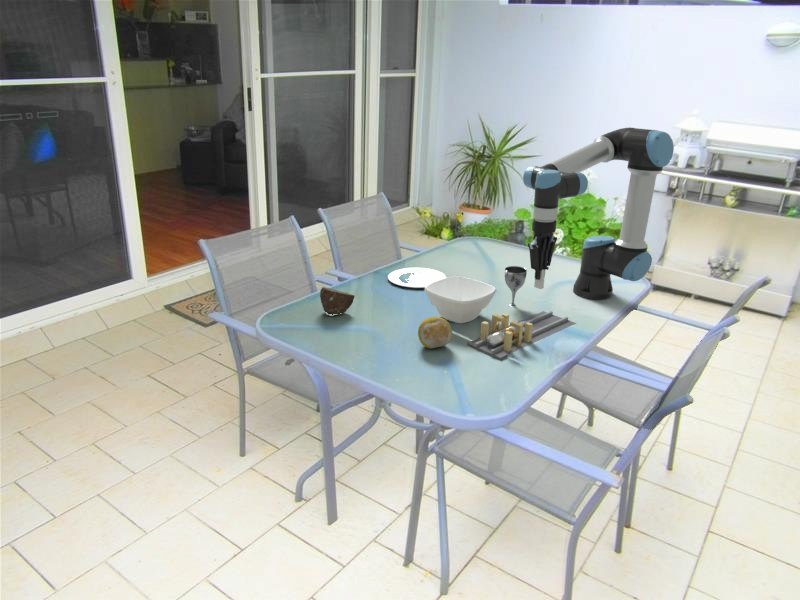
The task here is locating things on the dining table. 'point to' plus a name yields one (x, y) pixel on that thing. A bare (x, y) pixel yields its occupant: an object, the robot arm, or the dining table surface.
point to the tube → (501, 336)
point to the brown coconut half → (335, 300)
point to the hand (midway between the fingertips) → (538, 287)
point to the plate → (416, 277)
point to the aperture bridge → (517, 326)
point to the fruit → (434, 332)
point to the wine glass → (515, 279)
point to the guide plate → (534, 331)
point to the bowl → (459, 297)
